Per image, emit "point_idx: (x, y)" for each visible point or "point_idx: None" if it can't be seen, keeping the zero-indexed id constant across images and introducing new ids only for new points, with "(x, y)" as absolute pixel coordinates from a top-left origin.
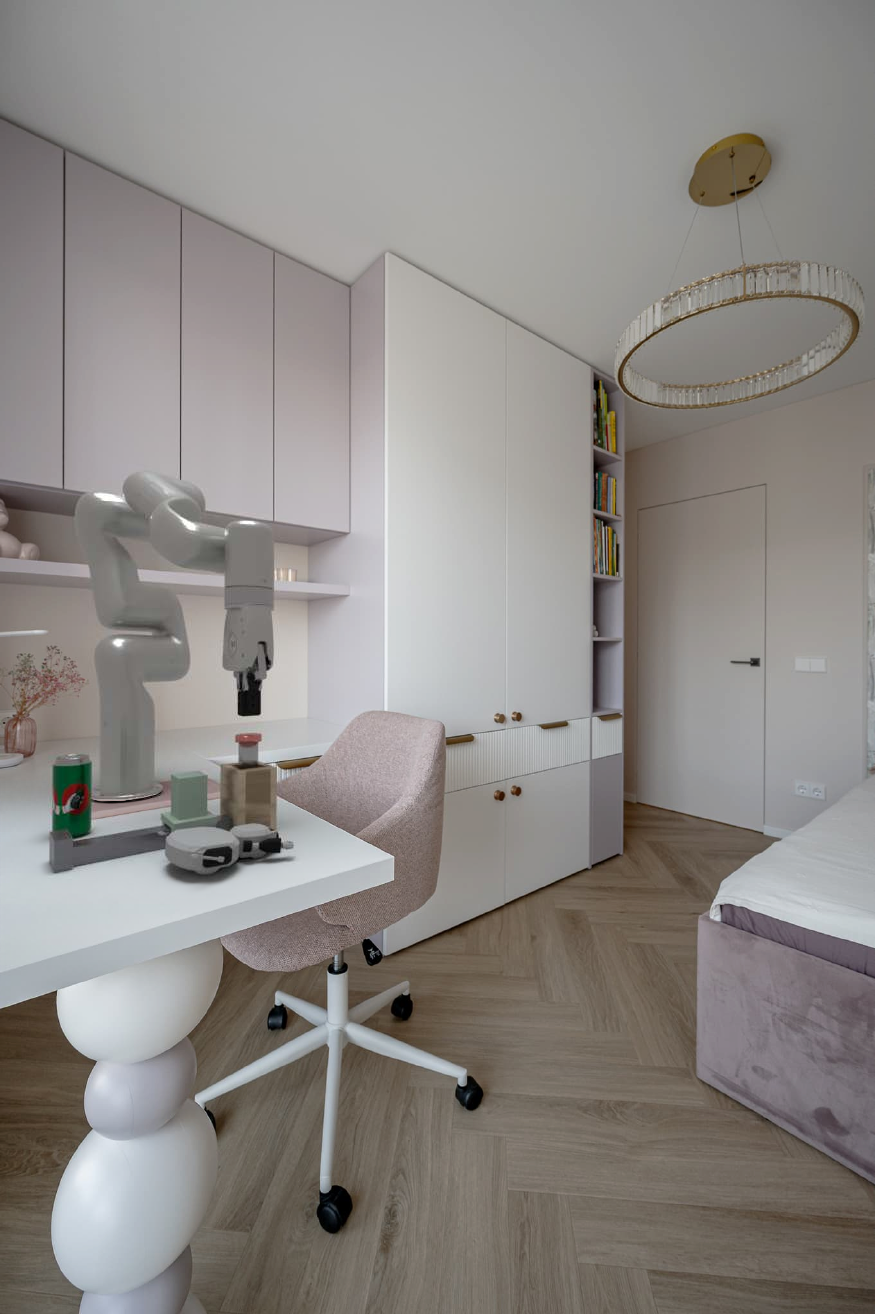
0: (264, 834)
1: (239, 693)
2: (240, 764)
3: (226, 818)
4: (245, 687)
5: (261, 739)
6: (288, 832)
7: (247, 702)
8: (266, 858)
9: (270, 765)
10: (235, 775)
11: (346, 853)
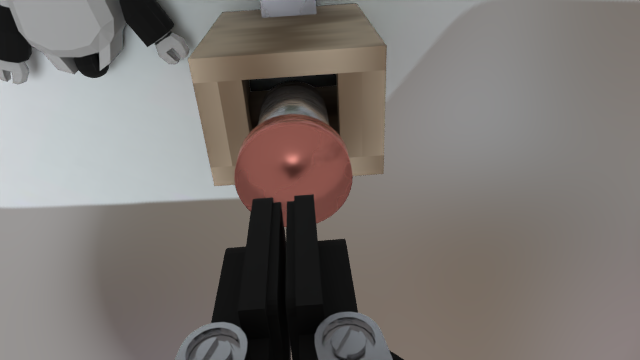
0: (18, 29)
1: (296, 293)
2: (281, 94)
3: (271, 2)
4: (177, 353)
5: None
6: None
7: (227, 276)
8: None
9: None
10: (225, 51)
11: (21, 166)
